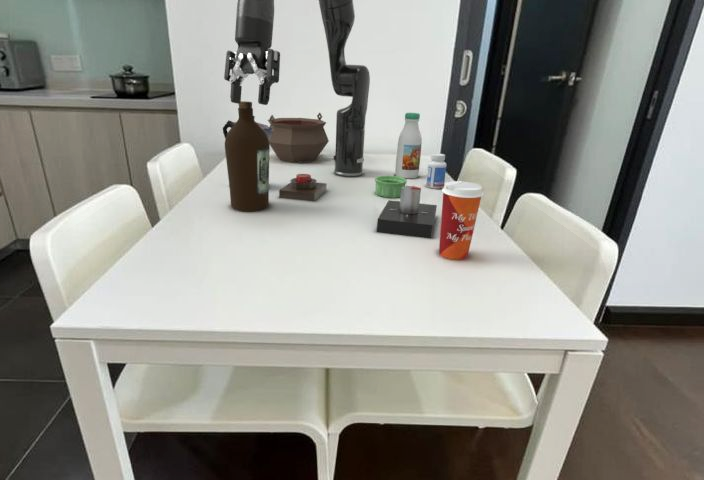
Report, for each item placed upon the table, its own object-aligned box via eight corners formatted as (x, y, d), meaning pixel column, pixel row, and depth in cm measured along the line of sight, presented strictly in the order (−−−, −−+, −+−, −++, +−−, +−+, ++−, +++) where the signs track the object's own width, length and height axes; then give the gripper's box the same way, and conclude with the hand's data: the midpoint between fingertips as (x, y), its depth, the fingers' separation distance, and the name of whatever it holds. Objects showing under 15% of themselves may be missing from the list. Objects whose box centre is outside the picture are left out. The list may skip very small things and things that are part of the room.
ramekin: (369, 196, 131) (370, 180, 129) (379, 188, 138) (380, 174, 136) (400, 200, 128) (402, 184, 126) (408, 192, 135) (410, 177, 133)
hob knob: (398, 213, 106) (400, 188, 104) (400, 207, 110) (402, 183, 108) (417, 215, 106) (420, 190, 103) (419, 209, 109) (421, 185, 107)
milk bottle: (392, 177, 153) (397, 113, 144) (398, 172, 159) (403, 111, 151) (415, 180, 150) (422, 115, 141) (420, 175, 156) (427, 112, 148)
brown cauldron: (303, 150, 190) (304, 108, 183) (341, 161, 174) (343, 115, 167) (252, 156, 176) (250, 111, 169) (288, 168, 160) (287, 118, 153)
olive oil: (221, 210, 114) (213, 102, 104) (239, 199, 124) (233, 99, 113) (262, 214, 112) (258, 104, 102) (276, 202, 122) (274, 101, 111)
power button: (299, 179, 131) (299, 173, 130) (312, 180, 130) (312, 174, 129) (294, 182, 127) (294, 176, 126) (308, 183, 126) (308, 177, 125)
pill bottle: (446, 186, 143) (450, 154, 139) (439, 189, 139) (444, 157, 135) (430, 183, 146) (433, 152, 142) (423, 187, 142) (426, 154, 138)
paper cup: (450, 264, 88) (461, 192, 82) (425, 250, 94) (434, 182, 88) (481, 258, 91) (494, 188, 86) (455, 245, 98) (465, 179, 92)
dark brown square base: (293, 187, 136) (293, 174, 135) (326, 190, 134) (326, 177, 132) (279, 198, 126) (278, 183, 124) (314, 201, 124) (314, 187, 122)
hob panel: (387, 211, 118) (388, 199, 116) (435, 216, 115) (436, 204, 114) (376, 231, 103) (377, 218, 102) (430, 238, 101) (432, 224, 100)
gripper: (292, 23, 94) (285, 108, 98) (245, 27, 102) (239, 105, 106) (266, 11, 88) (259, 101, 92) (217, 16, 96) (213, 99, 100)
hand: (248, 103), depth 99 cm, fingers open, 8 cm apart
